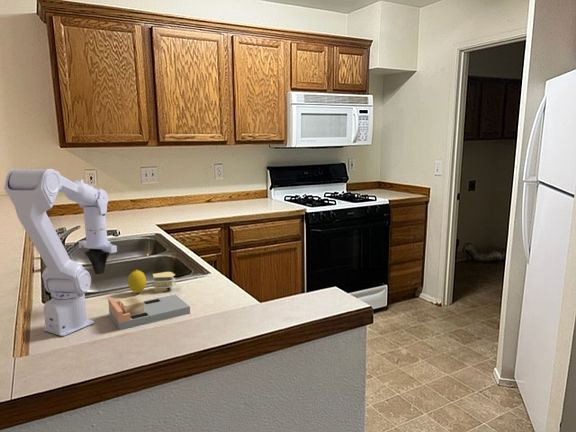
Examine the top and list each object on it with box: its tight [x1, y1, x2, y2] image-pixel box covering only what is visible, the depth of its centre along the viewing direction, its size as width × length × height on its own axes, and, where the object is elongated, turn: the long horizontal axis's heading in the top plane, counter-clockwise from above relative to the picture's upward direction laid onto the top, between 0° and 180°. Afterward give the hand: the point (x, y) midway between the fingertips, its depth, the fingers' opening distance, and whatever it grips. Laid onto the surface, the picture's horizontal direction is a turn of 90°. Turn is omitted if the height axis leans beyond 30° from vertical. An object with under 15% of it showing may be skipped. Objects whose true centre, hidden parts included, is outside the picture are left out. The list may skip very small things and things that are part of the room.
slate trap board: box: [108, 294, 191, 331], centre depth 121 cm, size 20×12×2 cm, turn 124°
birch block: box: [120, 296, 144, 315], centre depth 118 cm, size 5×5×3 cm
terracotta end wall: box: [107, 297, 131, 323], centre depth 116 cm, size 3×12×3 cm, turn 34°
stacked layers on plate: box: [152, 271, 177, 293], centre depth 141 cm, size 10×9×6 cm
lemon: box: [127, 269, 147, 294], centre depth 137 cm, size 6×6×8 cm
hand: (99, 273), depth 126 cm, fingers closed
